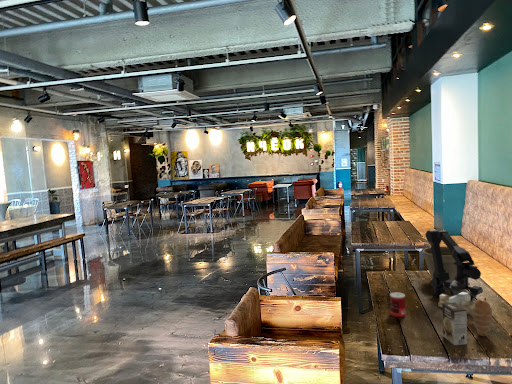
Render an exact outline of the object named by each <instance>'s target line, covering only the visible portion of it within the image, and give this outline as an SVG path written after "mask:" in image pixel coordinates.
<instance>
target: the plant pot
mask: <svg viewBox="0 0 512 384" xmlns="http://www.w3.org/2000/svg"><path fill="white" fill-rule="evenodd" d="M440 249H441V254H442V260H443V266H444V270H445V271H446V272H448V273H449V278H450V280H452V281H454V280H455V276H456V265H455V264H454V262H456V261H455V260H454V258H453V257H452V252H451V250H450V249H449V248H448V247H447V246H440ZM422 258H423V259H424V260H425V263H426V267H427V269H428V273H429V276H430V278H431V280H432V279H433V273H434V271H435V267H434V261H433V255H432V250H431V246H430V247H425V248H423V250H422ZM462 263H464V262H462Z"/></svg>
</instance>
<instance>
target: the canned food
mask: <svg viewBox="0 0 512 384" xmlns="http://www.w3.org/2000/svg"><path fill="white" fill-rule="evenodd" d="M389 305H390V306H389V307H390V309H389V310H390V315H391V316H392V317H395V318H404V317H406V314H407V313H406V312H407V311H406V295H405V293H402V292H399V291H395V292H391V293H389Z"/></svg>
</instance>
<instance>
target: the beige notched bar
mask: <svg viewBox="0 0 512 384" xmlns="http://www.w3.org/2000/svg"><path fill="white" fill-rule="evenodd" d="M450 297H452V295H448V294H447V295H445V294H441V295H440V298H439V302H437V303H438V304H437V305H438V308H439V307H440V308H443V306H442V303H449V298H450ZM475 302H476V301H474V302H472V301H470V300H469V299H468V300H462V301H461V305H460V306H462V307H463V308H465V309H466V310H467V315H470V316H471V317H473V315H472V314H473V307H474V306H475Z"/></svg>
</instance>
